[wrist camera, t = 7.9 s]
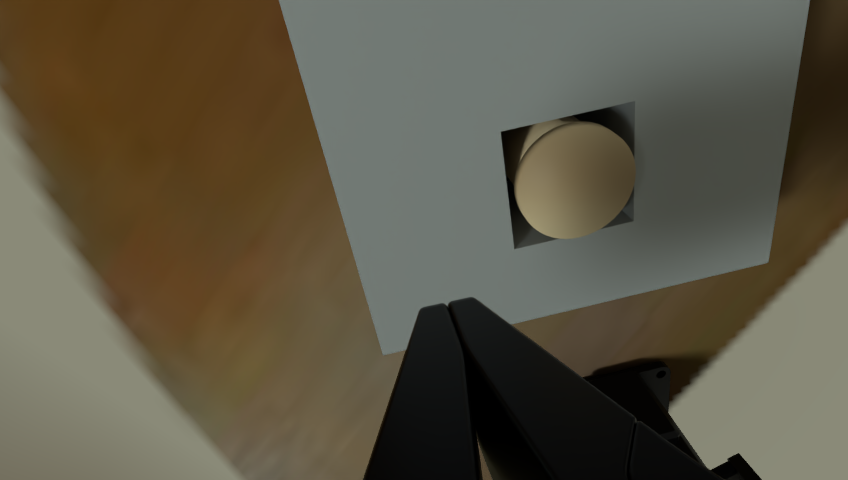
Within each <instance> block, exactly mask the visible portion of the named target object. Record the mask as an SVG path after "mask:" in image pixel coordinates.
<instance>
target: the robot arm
mask: <svg viewBox="0 0 848 480" xmlns="http://www.w3.org/2000/svg"><path fill="white" fill-rule="evenodd" d="M670 374H671V372H670V369H669V368H668V366H667V365H666V364H665V363H664V362H655V363H651V364H647V365H643V366H639V367H635V368H631V369H627V370H623V371H619V372H614V373H610V374H606V375H602V376H598V377H594V378H590V379H586V380H585V379H583V378H582V377H581V376H579V375H578V374H577V373H575V372H574V371H573V370H571V369H570V368H569V367H567V366H566V365H565V364H563V363H562V362H561V361H559V360H558V359H557V358H555V357H554V356H553V355H551V354H550V353H548V352H547V351H546V350H544V349H543V348H542V347H540V346H539V345H538V344H536V343H535V342H534V341H532V340H531V339H530V338H528V337H527V336H526V335H524V334H523V333H522V332H520V331H519V330H518V329H516V328H515V327H514V326H512V325H511V324H509V323H508V322H507V321H505V320H504V319H503V318H501V317H500V316H499V315H497V314H496V313H495V312H493V311H492V310H491V309H489V308H488V307H487V306H485V305H484V304H483V303H481V302H480V301H479V300H477V299H476V298H474V297H468V298H463V299H458V300H454V301H450V302H449V303H448V306H447V305H446V304H444V303H440V304H435V305H430V306H426V307H422V308H421V309H420V310H419V312H418V315H417V318H416V321H415V324H414V327H413V330H412V333H411V336H410V339H409V342H408V345H407V348H406V351H405V354H404V358H403V361H402V364H401V367H400V370H399V373H398V376H397V379H396V382H395V385H394V388H393V391H392V394H391V397H390V400H389V403H388V406H387V409H386V412H385V415H384V418H383V421H382V424H381V427H380V430H379V433H378V436H377V439H376V442H375V445H374V448H373V451H372V454H371V457H370V460H369V463H368V466H367V469H366V472H365V475H364V478H363V480H483V478H482V470H481V462H480V455H479V448H478V442H479V445H480V448H481V451H482V454H483V456H484V459H485V462H486V464H487V467H488V469H489V472H490V474H491V477H492V479H493V480H761V478H760V477H759V476H758V475H757V474H756V473H755V471H754V470H753V469H752V468H751V467H750V466H749V464H748V463H747V462H746V461H745V460H744V459H743V458H742V456H741V455H740V454H739V453H738V454H736V455H734V456H732V457H730V458H728V459H727V460H728V462H725V463H723V464H721V465H720V466H718V467H716V468H714V469H712V470H709V469H708V468H707V467H706V466H705V465H704V463H703V462H702V460H701V459H700V457H699V456H698V455H697V453H696V452H695V450H694V449H693V447H692V446H691V445H690V443H689V442H688V440H687V439H686V438H685V436H684V435H683V433H682V432H681V430H680V429H679V428H678V426H677V425H676V423H675V422H674V421H673V419H672V418H671V416H670V415H669V413H668V407H669V391H670ZM477 439H478V441H477Z"/></svg>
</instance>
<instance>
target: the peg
mask: <svg viewBox="0 0 848 480" xmlns="http://www.w3.org/2000/svg"><path fill="white" fill-rule="evenodd" d="M501 140H502V148H503V157H504V165H505V174H506V175H507V177H508V178H509V179H510V181H511V182H512V183H513V185H514V194H515V199H516V202H517V205H518V207H519V209H520V211H521V213H522V214H523V216H524V217H525V218H526V220H527V221H528V222H529V224H530V225H531V226H532V227H533V228H534V229H536V230H537V231H539V232H540V233H542V234H544V235H547V236H550V237H553V238H558V239H573V238H579V237H583V236H586V235H589V234H591V233H594V232H596V231H597V230H599V229H601V228H603V227H604V226H605V225H607V224H608V223H609V222H611V221H612V220H613V219H614V218H615V217H616V216H617V215H618V214H619V213H620V211H621V210H622V209H623V208H624V206H625V205H626V203H627V201H628V199H629V197H630V195H631V193H632V190H633V187H634V183H635V176H636V167H635V161H634V157H633V154H632V152H631V150H630V148H629V146H628V145H627V144H626V142H625V141H624V140H623V139H622V138H621V137H619V136H618V135H617V134H615V133H614V132H612V131H611V130H609V129H608V128H606V127H604V126H602V125H600V124H597V123H593V122H585V121H579V120H578V119H577V118H575V117H574V116H573V115H572V116H567V117H563V118H559V119H554V120H550V121H545V122H541V123H537V124H532V125H528V126H523V127H519V128H515V129H510V130H506V131H502V132H501Z"/></svg>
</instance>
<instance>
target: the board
mask: <svg viewBox="0 0 848 480" xmlns="http://www.w3.org/2000/svg"><path fill="white" fill-rule="evenodd" d="M279 2H280V6H281V9H282V12H283V16H284V19H285V23H286V26H287V29H288V33H289V36H290V40H291V43H292V47H293V50H294V53H295V57H296V60H297V64H298V67H299V70H300V74H301V77H302V81H303V84H304V87H305V91H306V94H307V98H308V101H309V105H310V108H311V111H312V115H313V118H314V122H315V125H316V128H317V132H318V135H319V139H320V142H321V145H322V149H323V152H324V156H325V159H326V162H327V166H328V169H329V173H330V176H331V180H332V183H333V186H334V190H335V193H336V197H337V200H338V203H339V207H340V210H341V214H342V217H343V220H344V224H345V227H346V231H347V234H348V237H349V241H350V244H351V248H352V251H353V255H354V258H355V261H356V265H357V268H358V272H359V275H360V278H361V282H362V285H363V289H364V292H365V295H366V299H367V302H368V306H369V309H370V312H371V316H372V319H373V323H374V326H375V330H376V333H377V336H378V340H379V343H380V347H381V350H382V353H383V355H386V354H391V353H395V352H399V351H403V350H406V348H407V345H408V342H409V339H410V336H411V333H412V330H413V327H414V324H415V321H416V318H417V315H418V312H419V310H420V309H421V308H422V307H426V306H430V305H435V304H440V303H444V304H446V305H447V306H448V303H449V302H450V301H454V300H458V299H463V298H468V297H474V298H476V299H477V300H479V301H480V302H481V303H483V304H484V305H485V306H487V307H488V308H489V309H491V310H492V311H493V312H495V313H496V314H497V315H499V316H500V317H501V318H503V319H504V320H505V321H507V322H508V323H509V324H515V323H519V322H523V321H528V320H532V319H536V318H540V317H544V316H548V315H552V314H557V313H561V312H565V311H569V310H573V309H577V308H582V307H586V306H590V305H594V304H598V303H602V302H606V301H611V300H615V299H619V298H623V297H627V296H631V295H635V294H640V293H644V292H648V291H652V290H656V289H660V288H665V287H669V286H673V285H677V284H681V283H685V282H689V281H694V280H698V279H702V278H706V277H710V276H714V275H718V274H723V273H727V272H731V271H735V270H739V269H743V268H748V267H752V266H756V265H760V264H764V263H768V261H769V255H770V248H771V242H772V236H773V229H774V223H775V217H776V211H777V204H778V198H779V192H780V186H781V179H782V173H783V167H784V160H785V154H786V148H787V142H788V135H789V129H790V123H791V117H792V110H793V104H794V98H795V91H796V85H797V79H798V73H799V66H800V60H801V54H802V48H803V41H804V35H805V29H806V22H807V16H808V10H809V4H810V0H279ZM572 115H573V116H574V117H575V118H577V119H578V120H579V121H585V122H593V123H597V124H600V125H602V126H604V127H606V128H608V129H609V130H611V131H612V132H614V133H615V134H617V135H618V136H619V137H621V138H622V139H623V140H624V141H625V142H626V144H627V145H628V146H629V148H630V150H631V152H632V154H633V157H634V161H635V167H636V176H635V183H634V187H633V190H632V193H631V195H630V197H629V199H628V201H627V203H626V205H625V206H624V208H623V209H622V210H621V211H620V213H619V214H618V215H617V216H616V217H615V218H614V219H613V220H612V221H611V222H609V223H608V224H607V225H605V226H604V227H603V228H601V229H599V230H597V231H596V232H594V233H591V234H589V235H586V236H583V237H579V238H573V239H558V238H553V237H550V236H547V235H544V234H542V233H540V232H539V231H537V230H536V229H534V228H533V227H532V226H531V225H530V224H529V222H528V221H527V220H526V218H525V217H524V216H523V214H522V213H521V211H520V209H519V207H518V205H517V202H516V199H515V194H514V185H513V183H512V182H511V181H507V182H506V174H505V165H504V157H503V148H502V140H501V132H502V131H506V130H510V129H515V128H519V127H523V126H528V125H532V124H537V123H541V122H545V121H550V120H554V119H559V118H563V117H567V116H572Z"/></svg>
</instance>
